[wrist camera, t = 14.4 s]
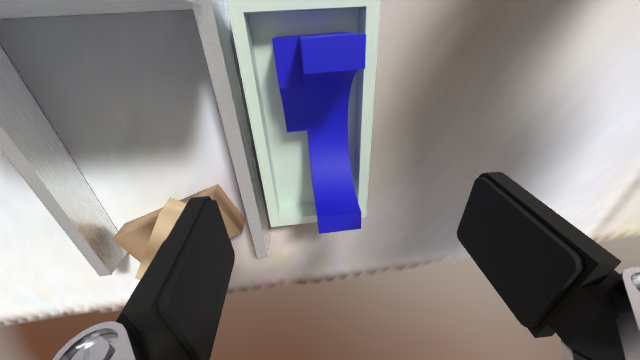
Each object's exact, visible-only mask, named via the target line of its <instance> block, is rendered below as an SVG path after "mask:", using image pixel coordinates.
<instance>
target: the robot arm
mask: <svg viewBox="0 0 640 360" xmlns="http://www.w3.org/2000/svg"><path fill="white" fill-rule="evenodd" d="M457 236H458V239H459V241H460V242H461V244H462V245H463V246H464V248H465V249H466V250H467V252H468V253H469V254H470V256H471V257H472V258H473V260H474V261H475V262H476V264H477V265H478V267H479V268H480V269H481V271H482V272H483V273H484V275H485V276H486V277H487V279H488V280H489V281H490V283H491V284H492V286H493V287H494V288H495V290H496V291H497V292H498V294H499V295H500V296H501V298H502V299H503V300H504V302H505V303H506V305H507V306H508V307H509V309H510V310H511V311H512V313H513V314H514V315H515V317H516V318H517V320H518V321H519V322H520V323H521V324H522V325H523V326H525V327H527V328H528V329H529V331H530V332H531V333H532V335H533V336H534V337H535V338H538V337H548V336H552V335H553V334H554V333H555V332H556V333H557V335H558V336H559V337H560V338H561V347H562V360H640V268H638V267H633V268H627V269H625V270H624V271H623V272H622V273H621V274H619V273H617V272H616V271H615V270H614V269H615V268H616V267H617V266H618V265H619V264H620V263H621V261H620V260H619V259H617V258H616V257H615V256H613V255H612V254H611V253H609V252H608V251H607V250H605V249H604V248H603V247H601V246H600V245H598V244H597V243H596V242H595V241H593V240H592V239H591V238H589V237H588V236H587V235H585V234H584V233H583V232H581V231H580V230H579V229H577V228H576V227H575V226H573V225H572V224H571V223H569V222H568V221H566V220H565V219H564V218H562V217H561V216H560V215H558V214H557V213H556V212H554V211H553V210H552V209H550V208H549V207H548V206H546V205H545V204H544V203H542V202H541V201H540V200H538V199H537V198H536V197H534V196H533V195H532V194H530V193H529V192H528V191H526V190H525V189H524V188H522V187H521V186H520V185H518V184H517V183H516V182H514V181H513V180H512V179H510V178H509V177H508V176H506V175H505V174H503V173H501V172H491V173H483V174H481V175H480V176H479V178H477V179H476V180H475V182H474V185H473V188H472V190H471V193H470V196H469V199H468V202H467V205H466V207H465V210H464V213H463V216H462V219H461V222H460V224H459V227H458V230H457ZM234 259H235V255H234V250H233V247H232V244H231V241H230V238H229V235H228V233H227V230H226V227H225V224H224V221H223V218H222V215H221V212H220V209H219V206H218V203H217V201H216V200H212V199H211V198H210V197H209V196H202V197H192V198H190V199H189V201H188V203H187V204H186V206H185V208H184V209H183V211H182V213H181V214H180V216H179V218H178V220H177V221H176V223H175V225H174V226H173V228H172V230H171V232H170V233H169V235H168V237H167V238H166V239H165V240H164V242H163V243H162V244H161V246H160V248H159V250H158V251H157V253H156V255H155V256H154V258H153V260H152V261H151V263H150V265H149V266H148V268H147V270H146V271H145V273H144V275H143V277H142V278H141V280H140V282H139V283H138V285H137V287H136V288H135V290H134V292H133V293H132V295H131V297H130V299H129V300H128V302H127V304H126V305H125V307H124V309H123V310H122V312H121V314H120V316H119V317H118V319H117V321H116V322H104V323H100V324H97V325H94V326H92V327H90V328H88V329H86V330H84V331H83V332H81V333H80V334H78V335H77V336H75V337H74V338H73V339H71V340H70V341H69V342H68V343H67V344H66V345H65V346H64V347H63V348H62V349H61V350H60V351H59V352H58V353H57V354H56V356H55V357H54V359H53V360H209V359H210V356H211V352H212V348H213V344H214V340H215V336H216V332H217V328H218V324H219V320H220V316H221V312H222V308H223V304H224V300H225V296H226V292H227V288H228V284H229V280H230V276H231V272H232V268H233V264H234Z"/></svg>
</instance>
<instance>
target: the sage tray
mask: <svg viewBox="0 0 640 360" xmlns="http://www.w3.org/2000/svg"><path fill="white" fill-rule="evenodd" d="M226 2H227V7H228V12H229V17H230V22H231V27H232V32H233V37H234V42H235V47H236V52H237V57H238V62H239V68H240V73H241V78H242V83H243V88H244V93H245V98H246V103H247V108H248V113H249V118H250V123H251V128H252V133H253V138H254V144H255V149H256V154H257V159H258V164H259V169H260V174H261V179H262V184H263V189H264V194H265V199H266V204H267V209H268V214H269V220H270V225H271V227H276V226H286V225H295V224H305V223H314V222H317V215H316V208H315V201H314V194H313V187H312V177H311V167H310V157H309V146H308V136H307V130H306V131H296V132H287V129H286V123H285V116H284V110H283V105H282V99H281V95H280V90H279V84H278V77H277V70H276V63H275V56H274V50H273V43H272V39H273V38H274V37H284V36H297V35H309V34H322V33H334V32H352V33H365V34H366V59H365V69H359V70H358V71H357V72H356V74H355V76H354V78H353V81H352V85H351V90H350V96H349V106H348V144H349V156H350V165H351V172H352V178H353V183H354V188H355V192H356V196H357V200H358V204H359V207H360V210H361V218H362V217H366V213H367V198H368V183H369V168H370V153H371V137H372V122H373V107H374V92H375V76H376V61H377V46H378V31H379V16H380V0H226Z"/></svg>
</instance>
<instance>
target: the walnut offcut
mask: <svg viewBox="0 0 640 360" xmlns="http://www.w3.org/2000/svg"><path fill="white" fill-rule="evenodd" d="M202 196H209V197H210V198H211V199H212V200H216V201H217V203H218V206H219V209H220V212H221V215H222V218H223V221H224V224H225V227H226V230H227V233H228V235H229V238H231V237H234V236H237V235H239V234H242V230H243V225H244V221H245V218H244V217H243V216H242V214H241V213H240V212H239V210H238V209H237V208H236V207H235V205H234V204H233V203H232V201H231V200H230V199H229V197H228V196H227V195H226V194H225V192H224V191H223V190H222V188H221V187H220V186H219V185H218V184H217V185H215V186H212V187H210V188H208V189H205V190H203V191H201V192H198V193H196V194H194V195H191V196H189V197H187V198H184V199H182V200H179V201H181V202H184V203H188V201H189V199H190V198H192V197H202ZM162 209H163V208H161V209H158V210H156V211H154V212H151V213H149V214H147V215H144V216H142V217H140V218H137V219H135V220H133V221H130V222H128V223H125V224H124V225H123V227H122V228H121V229H120V230H119V231H118V233H117V234H116V235H115V236H114V237H113V238H112V240H113V241H114V242H116V243H117V244H118V245H119V246H121V247H122V248H123V249H124V250H126V251H127V252H128V253H129V254H131V255H132V256H133V257H134V258H136V259H137V260H138V261H139V262H141V261H142V259H143V256H144V253H145V250H146V248H147V245H148V242H149V240H150V237H151V234H152V231H153V229H154V226H155V223H156V221H157V218H158V215H159V213H160V212H161V210H162Z"/></svg>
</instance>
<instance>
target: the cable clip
mask: <svg viewBox="0 0 640 360" xmlns="http://www.w3.org/2000/svg"><path fill="white" fill-rule="evenodd" d="M272 43H273V50H274V56H275V63H276V70H277V77H278V84H279V90H280V95H281V99H282V105H283V110H284V116H285V123H286V129H287V132H296V131H306V130H307V136H308V146H309V157H310V167H311V177H312V187H313V194H314V201H315V208H316V215H317V222H318V229H319V234H321V233H329V232H337V231H345V230H353V229H361V210H360V207H359V204H358V200H357V196H356V192H355V188H354V183H353V178H352V172H351V165H350V156H349V144H348V106H349V96H350V90H351V85H352V81H353V78H354V76H355V74H356V72H357V71H358V70H359V69H365V59H366V34H365V33H352V32H334V33H322V34H309V35H297V36H284V37H274V38H273V39H272Z"/></svg>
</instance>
